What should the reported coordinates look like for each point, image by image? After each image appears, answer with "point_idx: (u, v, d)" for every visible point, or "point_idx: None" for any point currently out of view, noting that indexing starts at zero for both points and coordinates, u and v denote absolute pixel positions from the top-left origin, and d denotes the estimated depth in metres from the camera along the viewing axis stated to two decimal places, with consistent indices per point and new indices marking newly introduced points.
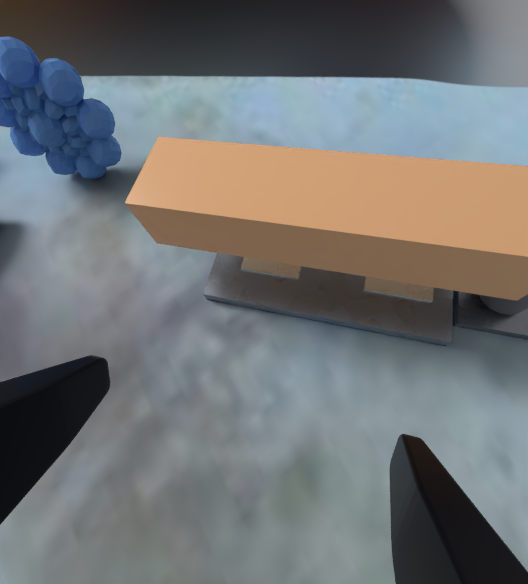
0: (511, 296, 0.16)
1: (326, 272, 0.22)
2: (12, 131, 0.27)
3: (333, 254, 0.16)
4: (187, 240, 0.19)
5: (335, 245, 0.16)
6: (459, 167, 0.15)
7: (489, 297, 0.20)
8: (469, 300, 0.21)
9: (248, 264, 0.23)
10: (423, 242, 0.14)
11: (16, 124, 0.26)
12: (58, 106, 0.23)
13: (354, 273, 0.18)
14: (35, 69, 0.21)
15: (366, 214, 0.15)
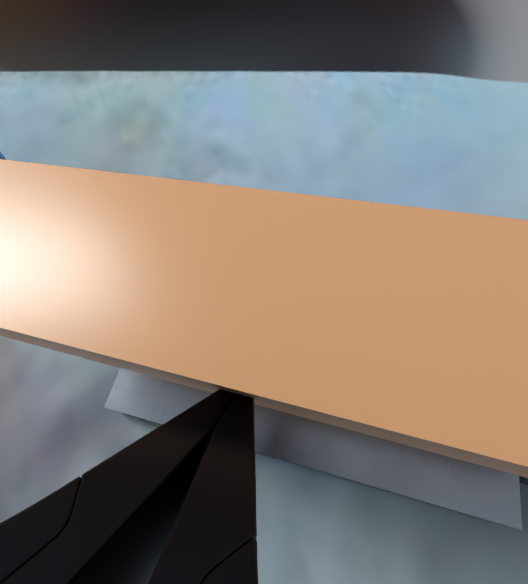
0: None
1: None
2: None
3: (297, 412, 0.08)
4: (42, 345, 0.10)
5: (297, 410, 0.07)
6: None
7: None
8: None
9: None
10: (524, 463, 0.05)
11: None
12: None
13: None
14: None
15: (369, 360, 0.06)
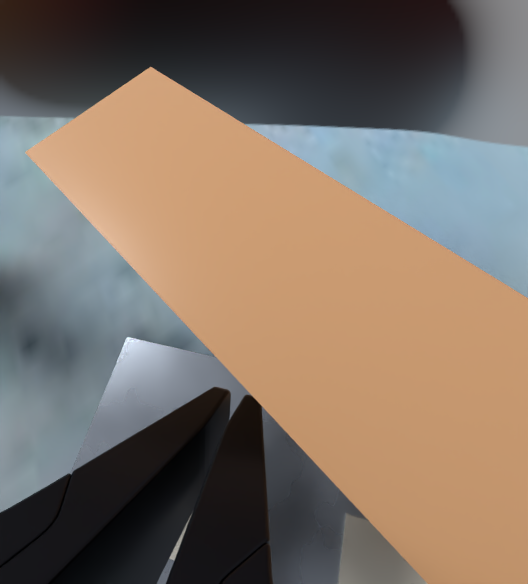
0: None
1: None
2: None
3: None
4: None
5: None
6: None
7: None
8: None
9: None
10: None
11: None
12: None
13: None
14: None
15: (396, 448, 0.05)
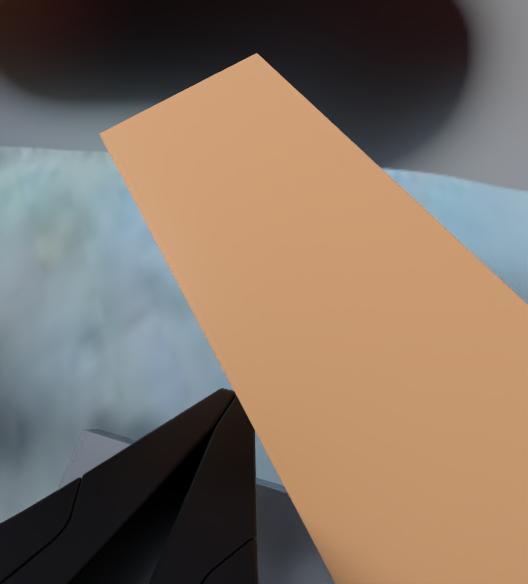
0: None
1: None
2: None
3: None
4: None
5: None
6: None
7: None
8: None
9: None
10: None
11: None
12: None
13: None
14: None
15: None
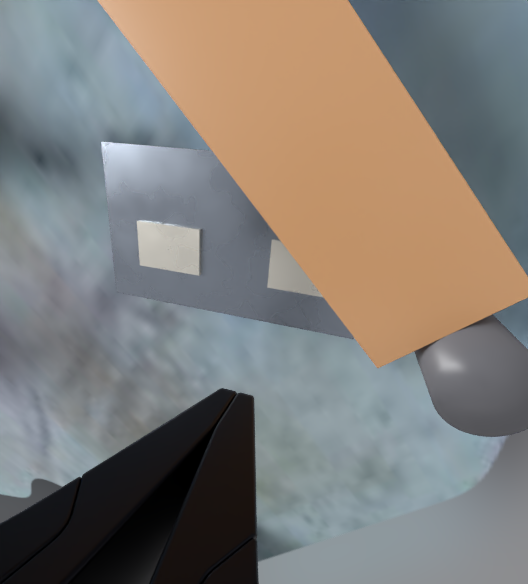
0: None
1: (228, 265, 0.20)
2: None
3: None
4: None
5: None
6: (436, 171, 0.08)
7: None
8: None
9: (146, 260, 0.21)
10: (276, 233, 0.10)
11: None
12: None
13: None
14: None
15: (252, 141, 0.09)
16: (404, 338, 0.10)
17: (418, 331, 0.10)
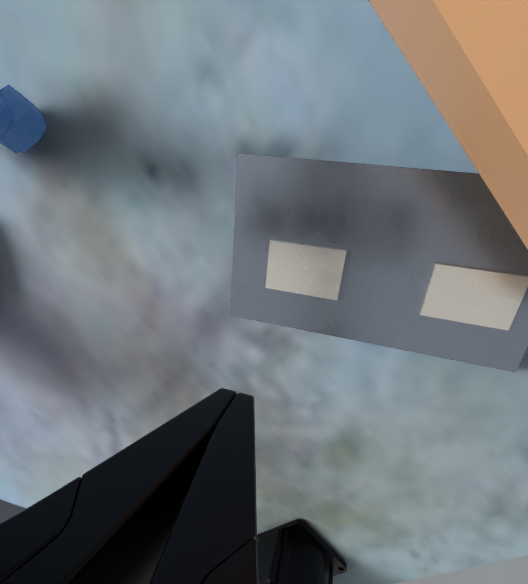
0: None
1: (372, 290, 0.18)
2: None
3: (494, 163, 0.10)
4: None
5: (508, 162, 0.09)
6: None
7: None
8: None
9: (273, 283, 0.19)
10: None
11: None
12: None
13: (494, 195, 0.11)
14: None
15: None
16: None
17: None
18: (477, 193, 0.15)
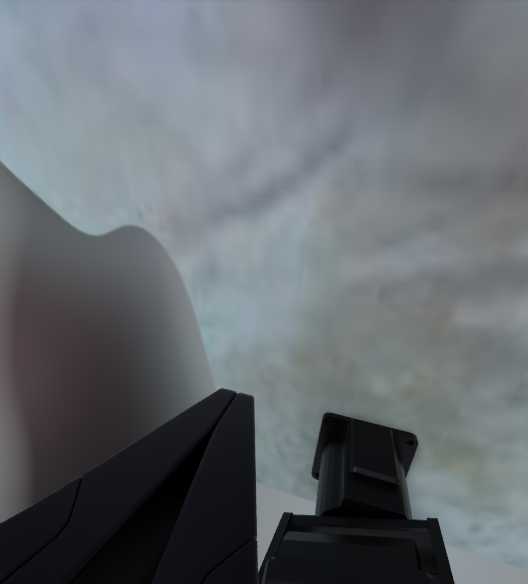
0: None
1: None
2: None
3: None
4: None
5: None
6: None
7: None
8: None
9: None
10: None
11: None
12: None
13: None
14: None
15: None
16: None
17: None
18: None
